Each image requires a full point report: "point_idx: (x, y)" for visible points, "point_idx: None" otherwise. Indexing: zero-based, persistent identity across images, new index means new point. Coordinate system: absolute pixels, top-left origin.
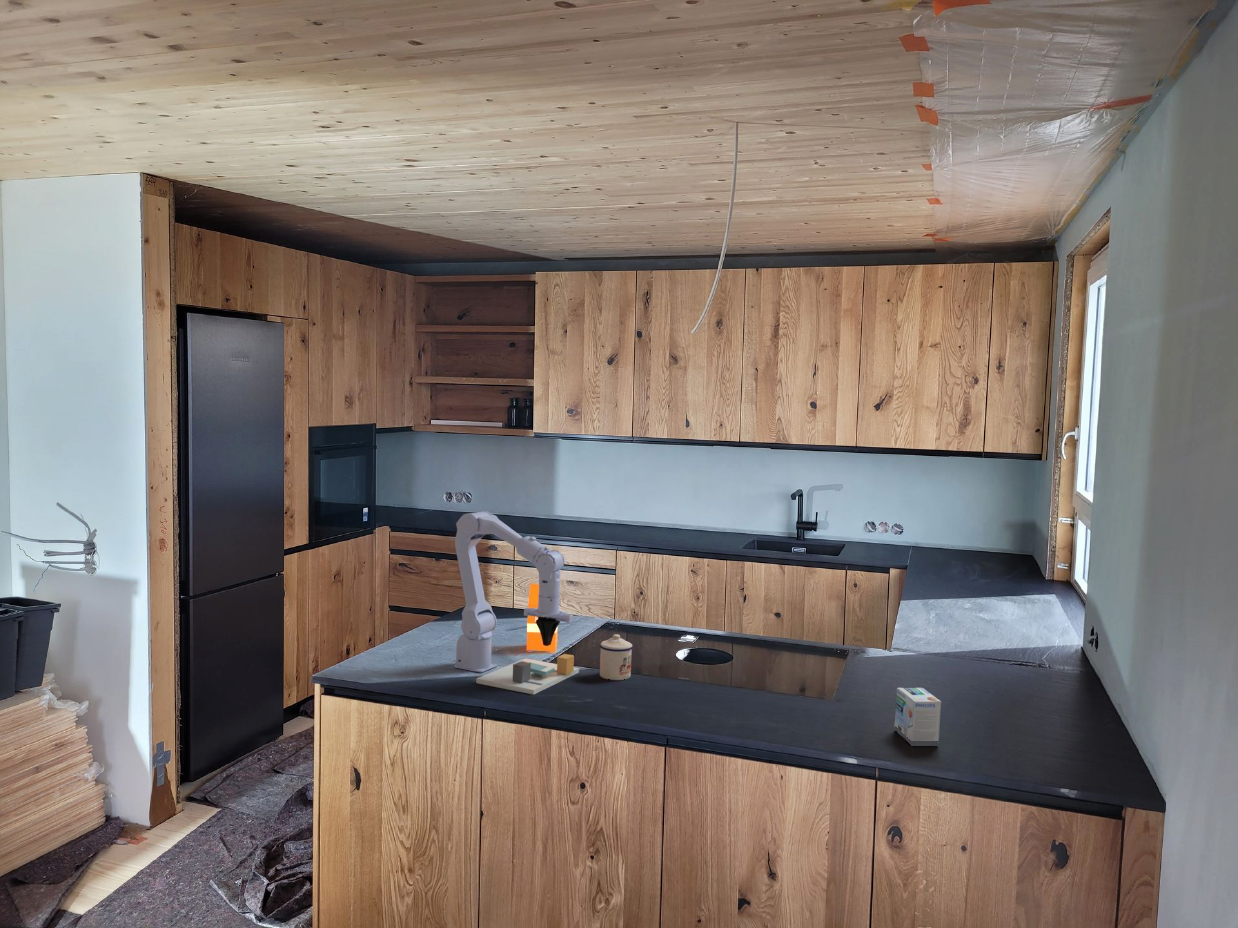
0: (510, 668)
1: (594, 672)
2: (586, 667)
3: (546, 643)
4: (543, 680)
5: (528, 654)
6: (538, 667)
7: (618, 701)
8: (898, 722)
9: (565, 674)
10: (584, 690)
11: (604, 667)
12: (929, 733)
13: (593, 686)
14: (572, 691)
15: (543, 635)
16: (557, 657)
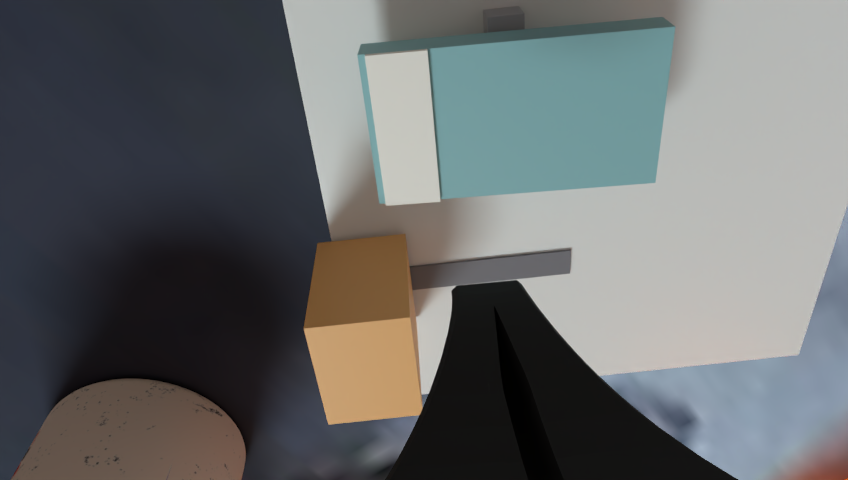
0: (810, 105)
1: (292, 425)
2: (394, 459)
3: (463, 300)
4: (365, 3)
5: (821, 445)
6: (505, 119)
7: None
8: None
9: None
10: (5, 96)
11: (122, 436)
12: None
13: (53, 218)
14: (42, 4)
15: (530, 363)
16: (407, 313)
